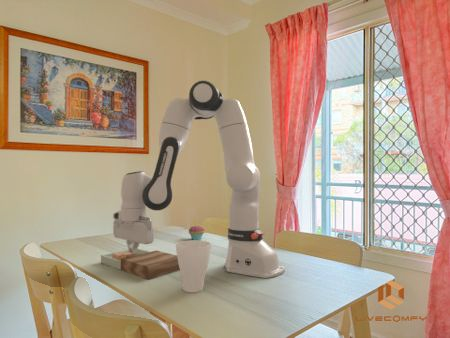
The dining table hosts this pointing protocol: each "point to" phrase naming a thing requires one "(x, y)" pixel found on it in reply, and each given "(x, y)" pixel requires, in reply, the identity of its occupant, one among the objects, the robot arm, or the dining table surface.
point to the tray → (116, 263)
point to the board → (150, 264)
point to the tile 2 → (127, 255)
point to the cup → (193, 263)
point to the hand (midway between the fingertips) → (132, 252)
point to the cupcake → (196, 232)
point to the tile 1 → (117, 256)
